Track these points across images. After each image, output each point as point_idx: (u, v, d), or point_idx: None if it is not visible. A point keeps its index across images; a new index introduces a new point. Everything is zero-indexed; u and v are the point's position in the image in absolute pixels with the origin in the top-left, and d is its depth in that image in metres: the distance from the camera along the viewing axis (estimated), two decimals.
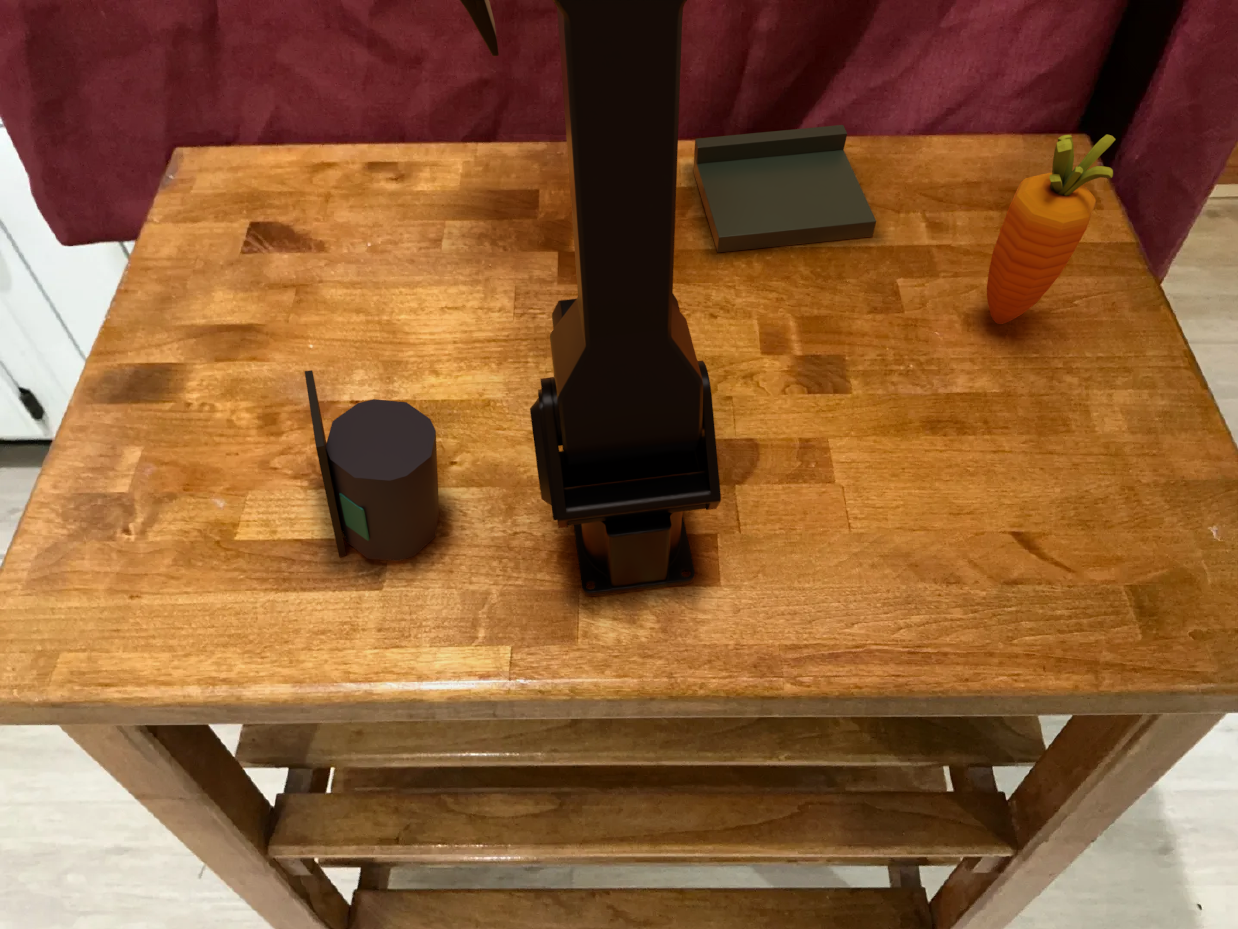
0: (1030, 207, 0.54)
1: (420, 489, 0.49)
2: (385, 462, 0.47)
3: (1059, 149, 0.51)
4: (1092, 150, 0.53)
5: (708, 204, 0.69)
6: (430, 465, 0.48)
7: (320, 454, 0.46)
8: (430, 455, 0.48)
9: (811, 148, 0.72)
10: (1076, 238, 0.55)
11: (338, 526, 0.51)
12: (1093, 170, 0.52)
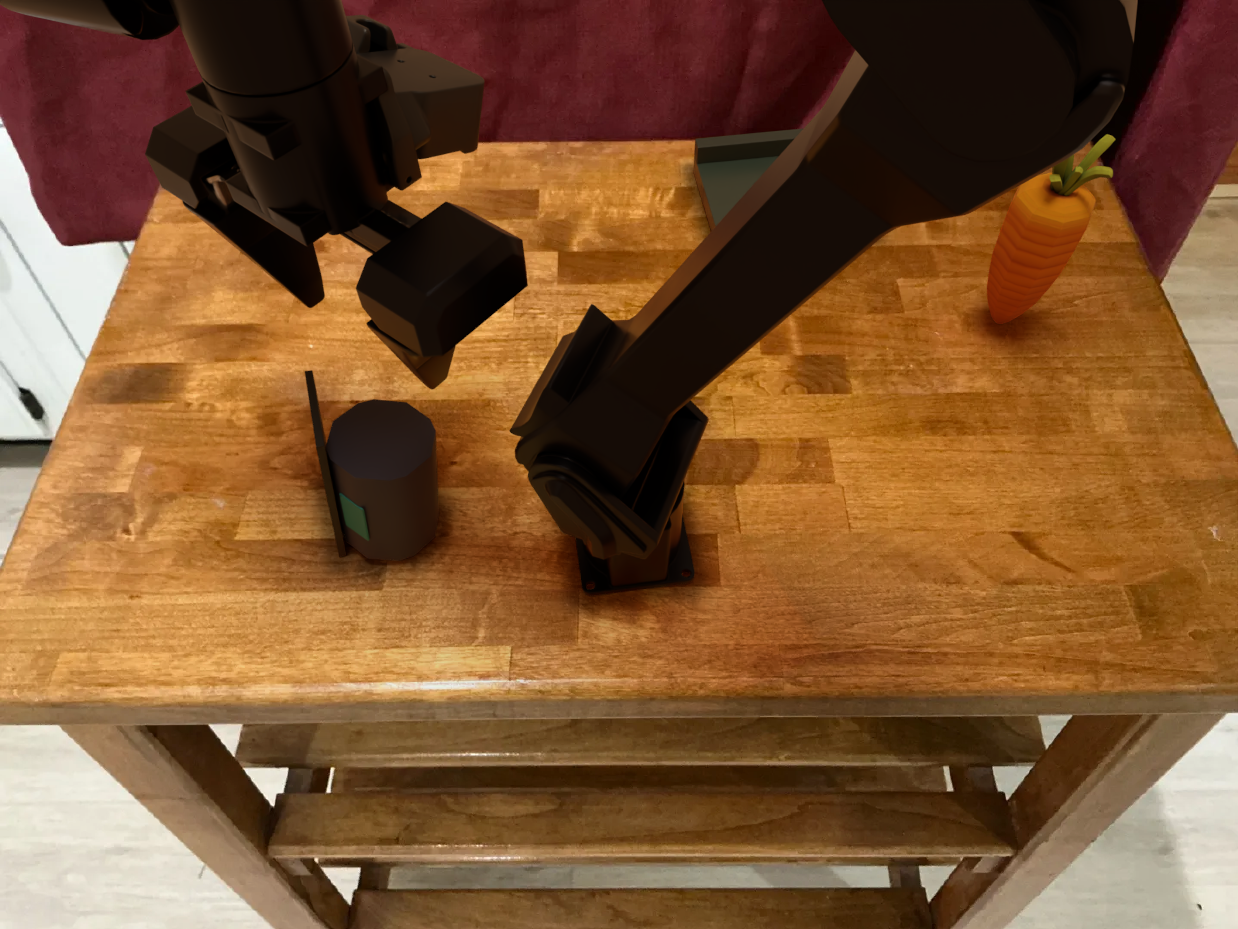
0: (1030, 207, 0.54)
1: (420, 489, 0.49)
2: (385, 462, 0.47)
3: None
4: (1092, 150, 0.53)
5: (708, 204, 0.69)
6: (430, 465, 0.48)
7: (320, 454, 0.46)
8: (430, 455, 0.48)
9: None
10: (1076, 238, 0.55)
11: (338, 526, 0.51)
12: (1093, 170, 0.52)
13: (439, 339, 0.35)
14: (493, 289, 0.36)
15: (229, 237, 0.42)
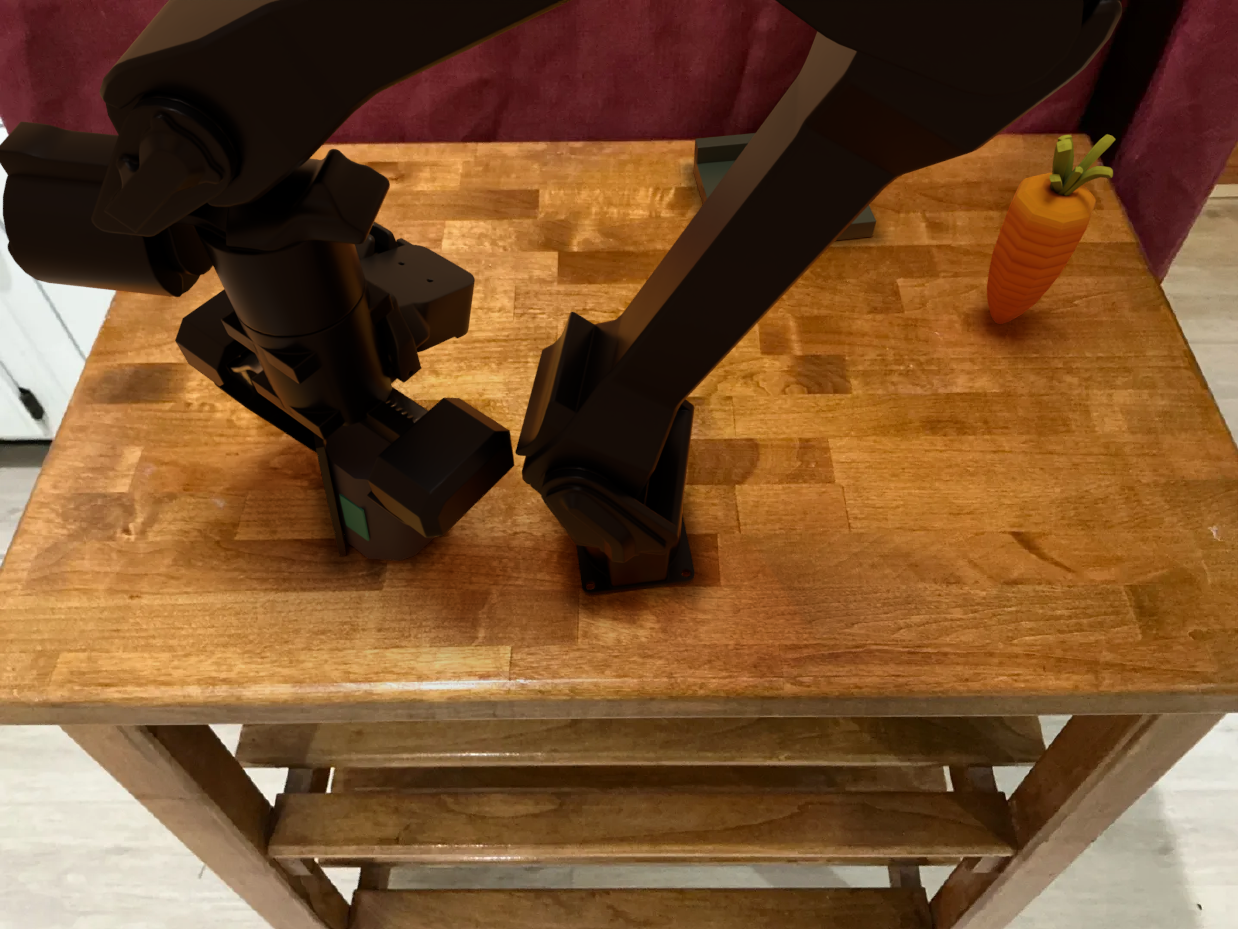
0: (1030, 207, 0.54)
1: None
2: None
3: (1059, 149, 0.51)
4: (1092, 150, 0.53)
5: None
6: None
7: (320, 455, 0.46)
8: None
9: None
10: (1076, 238, 0.55)
11: (338, 526, 0.51)
12: (1093, 170, 0.52)
13: (440, 525, 0.42)
14: (485, 477, 0.43)
15: (255, 413, 0.48)
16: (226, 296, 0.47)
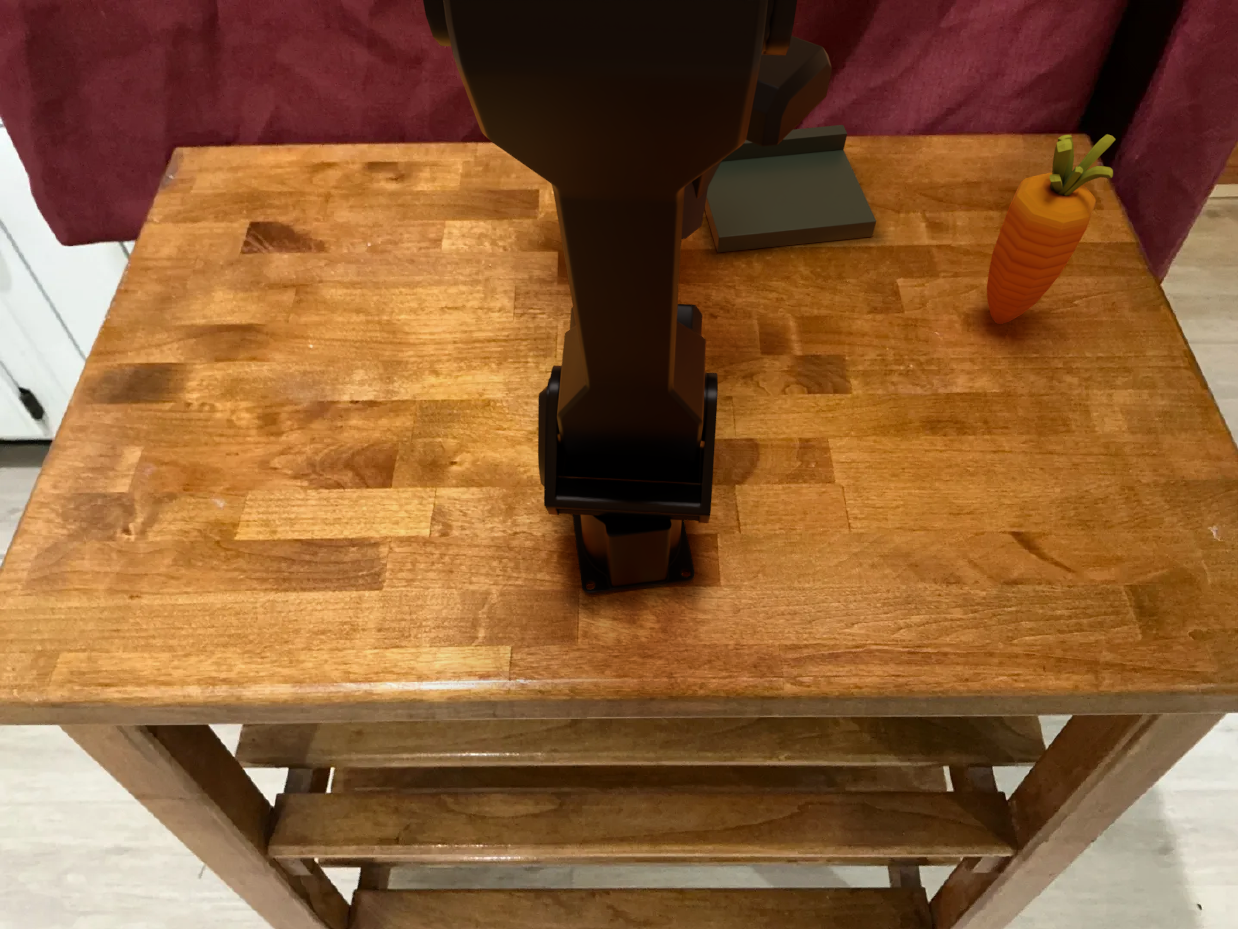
0: (1030, 207, 0.54)
1: None
2: None
3: (1059, 149, 0.51)
4: (1092, 150, 0.53)
5: (708, 204, 0.69)
6: None
7: None
8: None
9: (811, 148, 0.72)
10: (1076, 238, 0.55)
11: None
12: (1093, 170, 0.52)
13: (780, 128, 0.45)
14: (812, 92, 0.46)
15: None
16: None
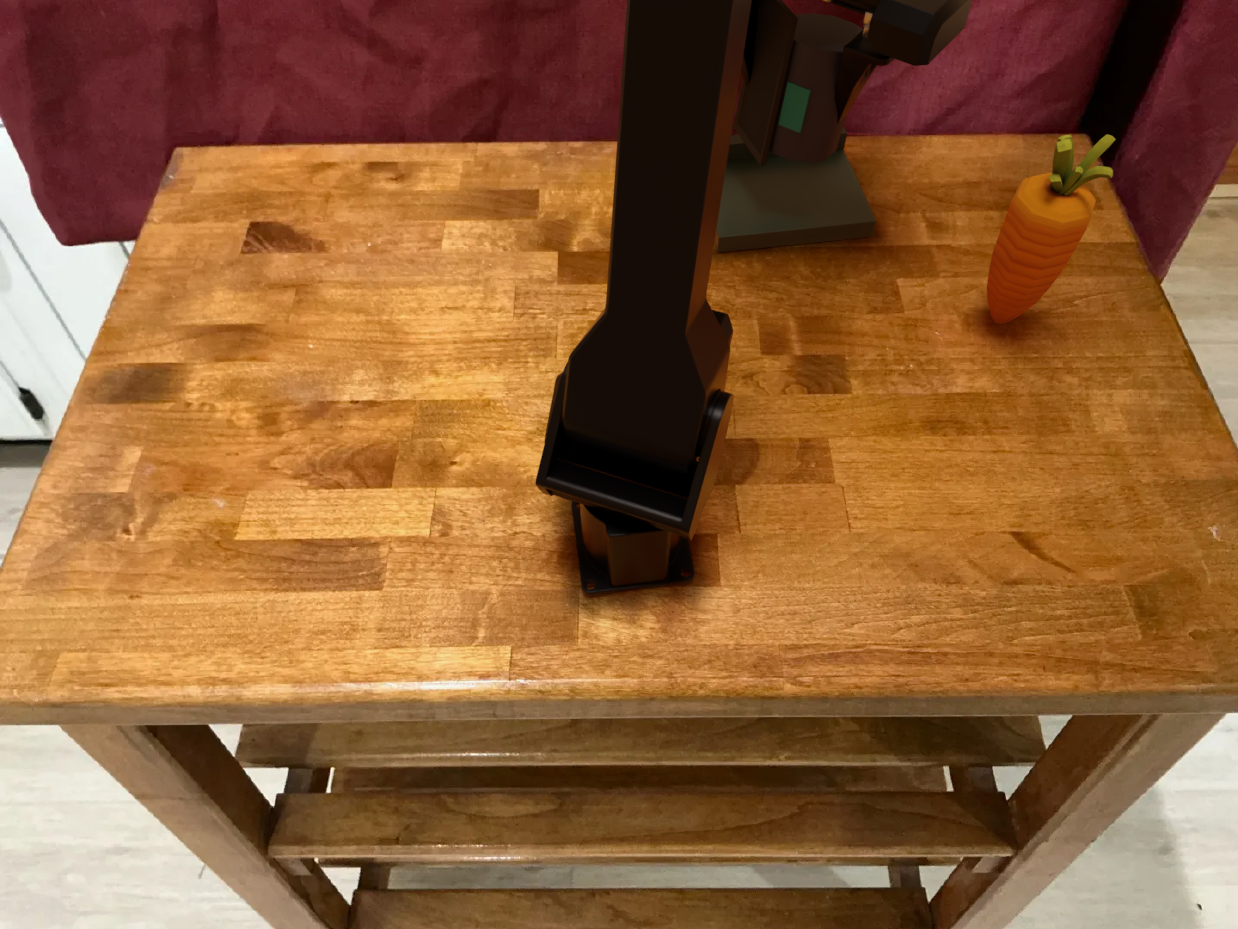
0: (1030, 207, 0.54)
1: None
2: (835, 43, 0.58)
3: (1059, 149, 0.51)
4: (1092, 150, 0.53)
5: None
6: None
7: (792, 28, 0.57)
8: None
9: None
10: (1076, 238, 0.55)
11: (773, 124, 0.62)
12: (1093, 170, 0.52)
13: (932, 49, 0.53)
14: (956, 22, 0.54)
15: None
16: None
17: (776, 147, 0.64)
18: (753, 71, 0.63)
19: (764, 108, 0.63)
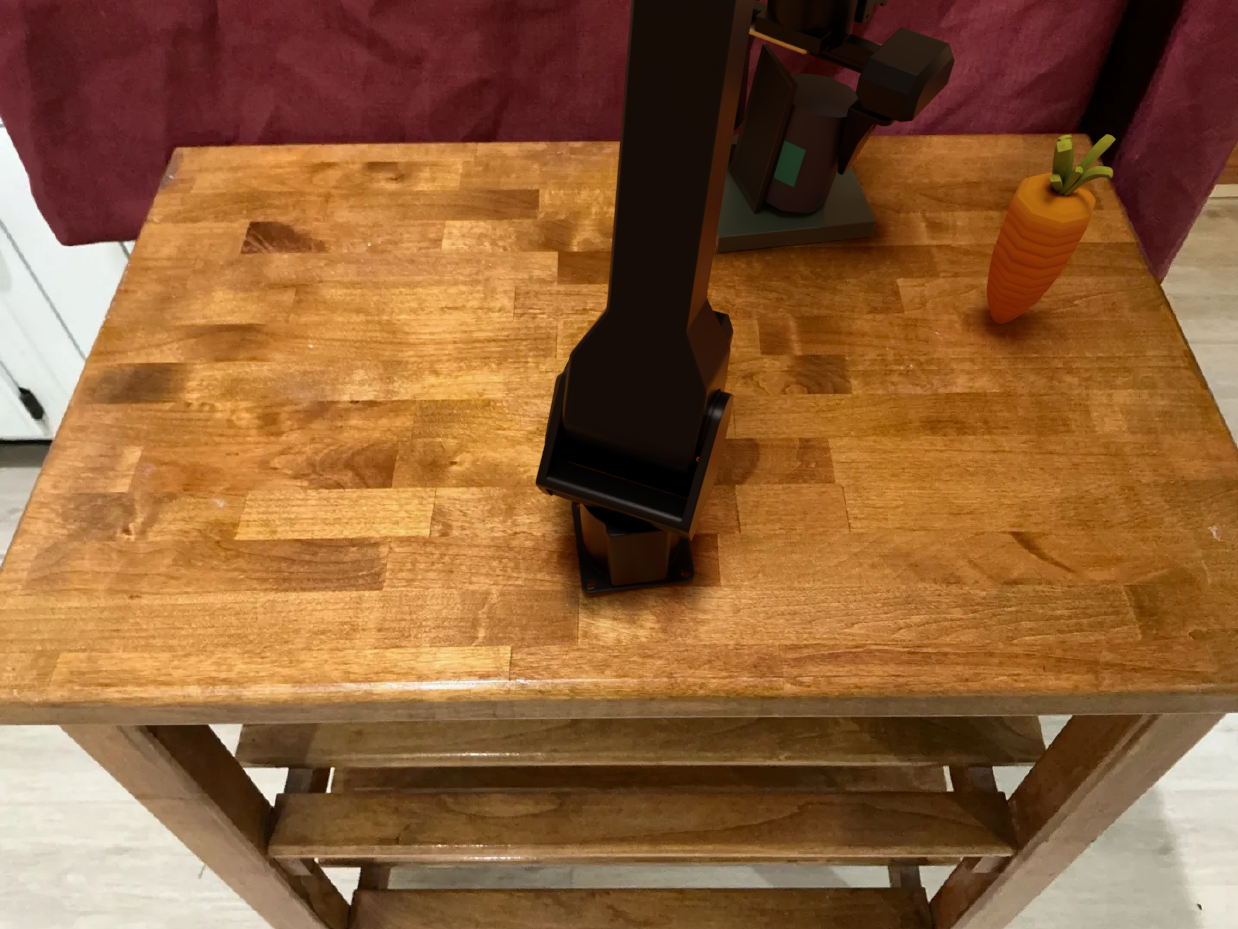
0: (1030, 207, 0.54)
1: None
2: (831, 107, 0.62)
3: (1059, 149, 0.51)
4: (1092, 150, 0.53)
5: None
6: None
7: (791, 93, 0.61)
8: None
9: None
10: (1076, 238, 0.55)
11: (768, 177, 0.66)
12: (1093, 170, 0.52)
13: (916, 107, 0.56)
14: (939, 80, 0.57)
15: None
16: None
17: (770, 197, 0.67)
18: (751, 124, 0.67)
19: (760, 161, 0.66)
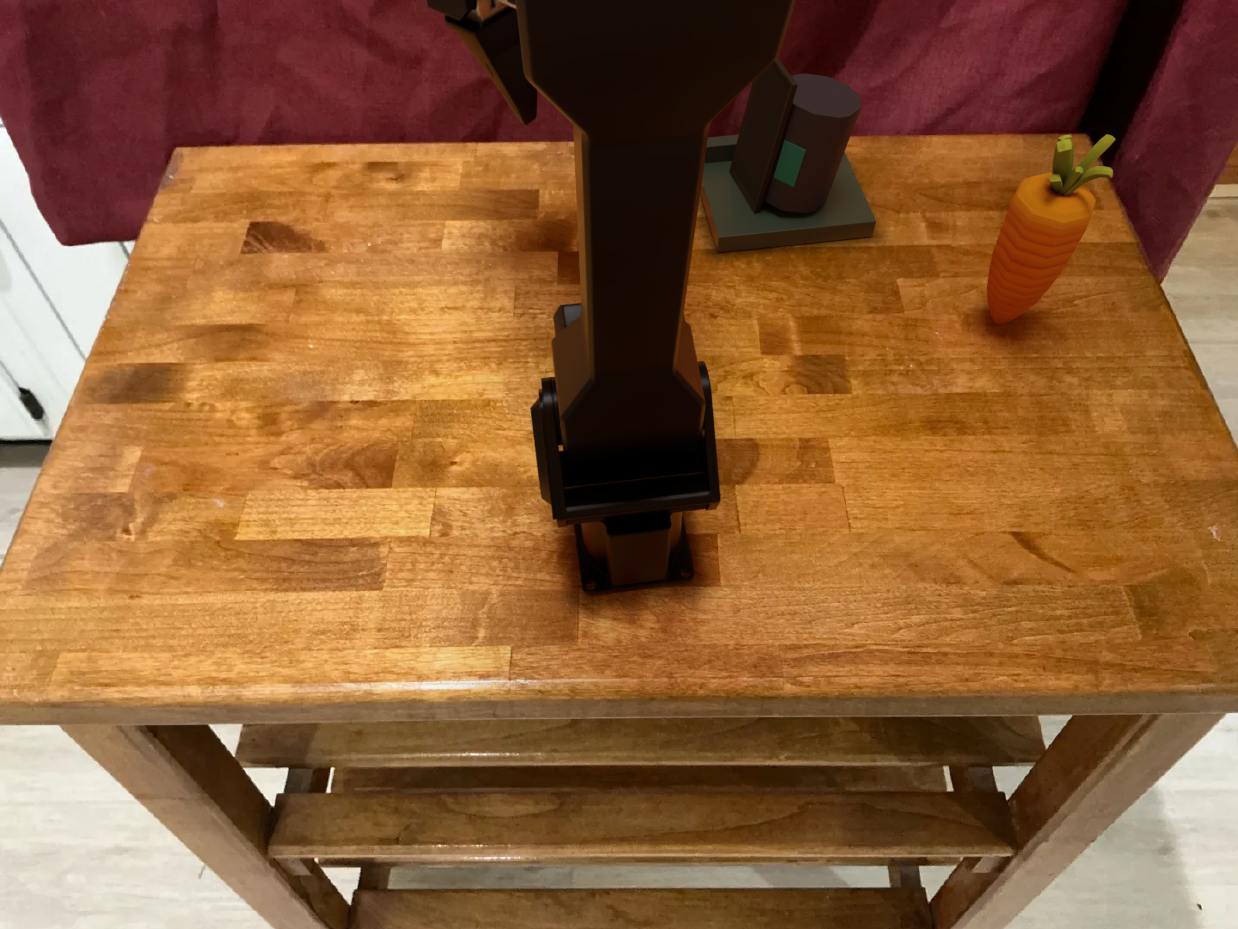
0: (1030, 207, 0.54)
1: (845, 138, 0.64)
2: (831, 107, 0.62)
3: (1059, 149, 0.51)
4: (1092, 150, 0.53)
5: (708, 204, 0.69)
6: (857, 116, 0.63)
7: (791, 93, 0.61)
8: (860, 106, 0.63)
9: None
10: (1076, 238, 0.55)
11: (768, 177, 0.66)
12: (1093, 170, 0.52)
13: None
14: None
15: (483, 47, 0.52)
16: None
17: (770, 197, 0.67)
18: (751, 124, 0.67)
19: (760, 161, 0.66)
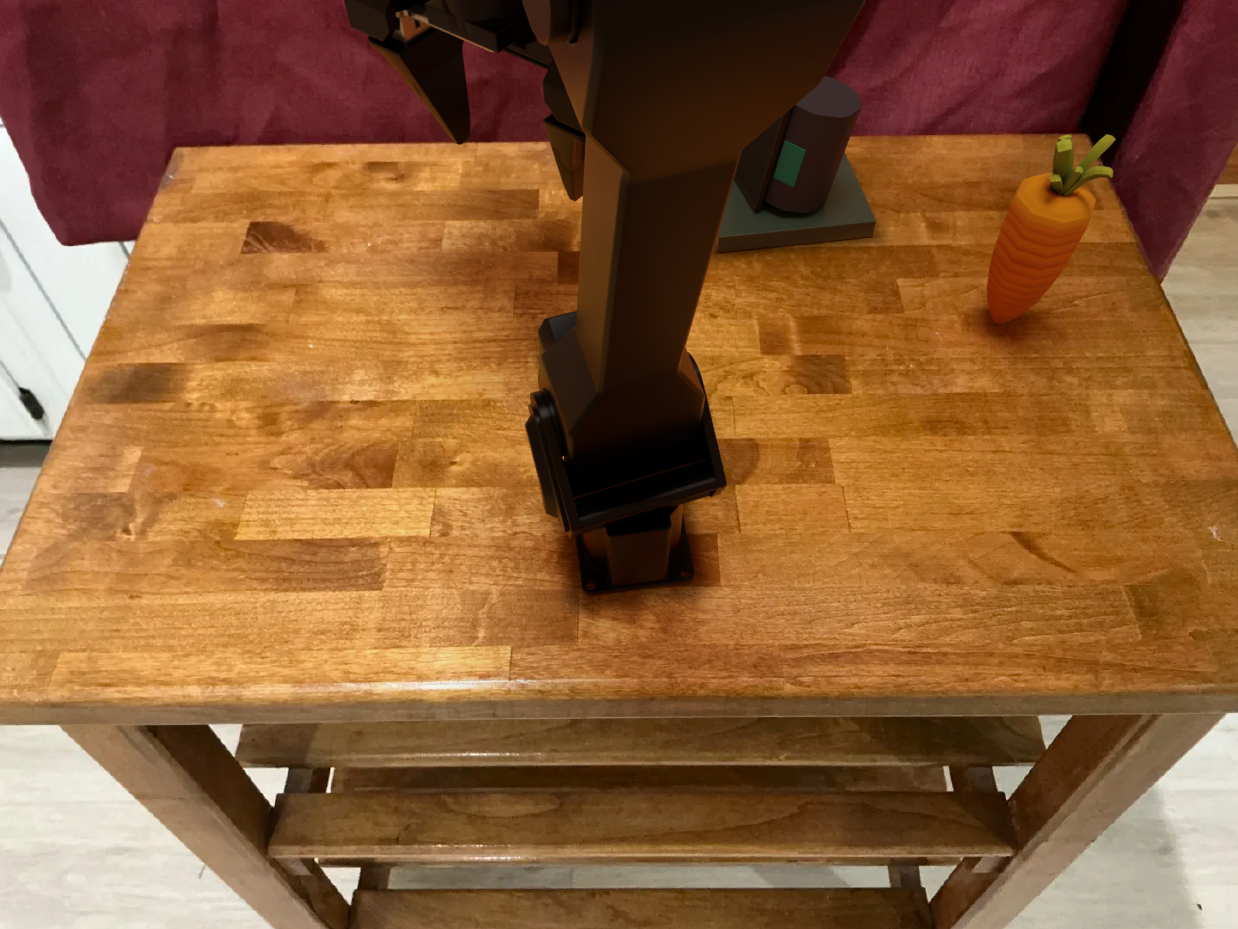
0: (1030, 207, 0.54)
1: (845, 138, 0.64)
2: (831, 107, 0.62)
3: (1059, 149, 0.51)
4: (1092, 150, 0.53)
5: None
6: (857, 116, 0.63)
7: None
8: (860, 106, 0.63)
9: None
10: (1076, 238, 0.55)
11: (768, 177, 0.66)
12: (1093, 170, 0.52)
13: None
14: None
15: (408, 68, 0.51)
16: None
17: (770, 197, 0.67)
18: None
19: (760, 161, 0.66)
